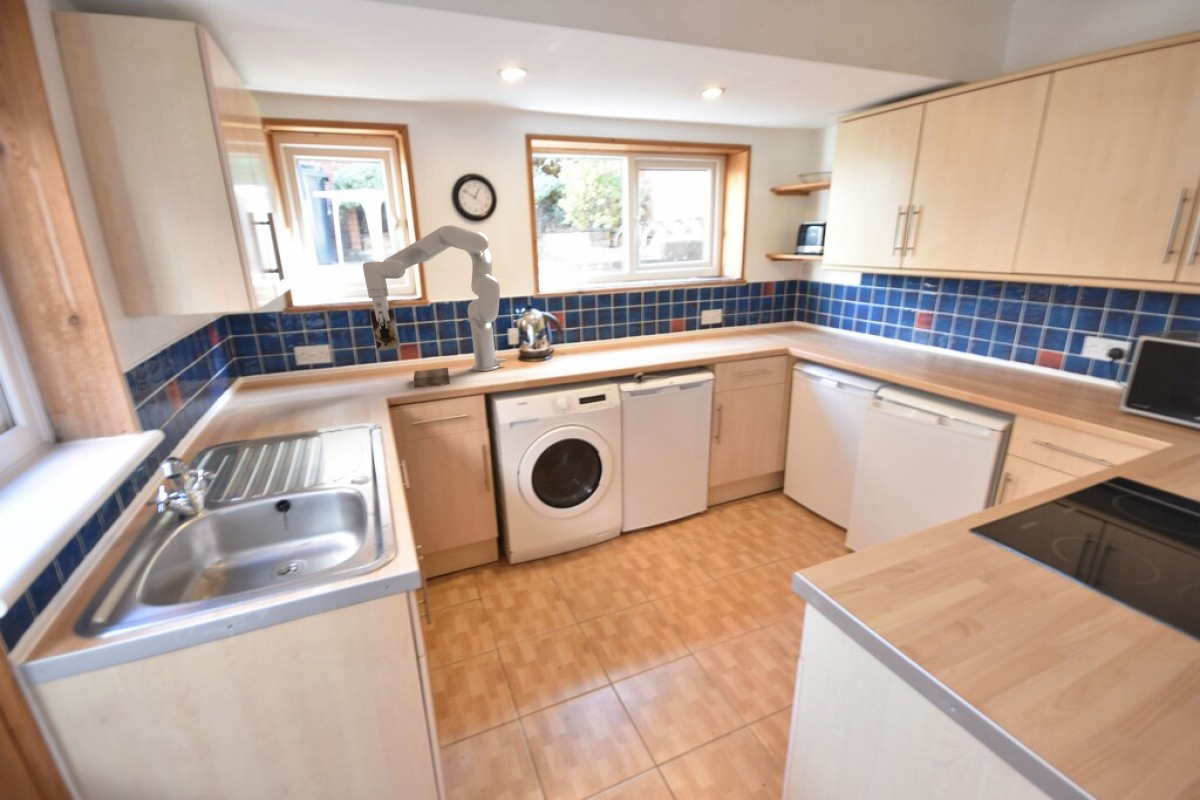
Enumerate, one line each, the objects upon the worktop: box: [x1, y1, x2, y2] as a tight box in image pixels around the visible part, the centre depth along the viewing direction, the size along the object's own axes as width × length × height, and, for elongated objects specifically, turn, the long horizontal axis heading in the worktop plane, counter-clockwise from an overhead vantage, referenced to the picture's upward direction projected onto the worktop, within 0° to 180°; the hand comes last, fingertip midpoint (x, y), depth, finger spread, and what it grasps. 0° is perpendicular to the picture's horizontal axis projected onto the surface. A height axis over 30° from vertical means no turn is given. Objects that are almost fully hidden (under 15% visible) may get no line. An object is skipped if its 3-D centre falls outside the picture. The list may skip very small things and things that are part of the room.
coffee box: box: [369, 307, 401, 352], centre depth 217 cm, size 9×6×16 cm
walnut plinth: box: [413, 367, 451, 389], centre depth 226 cm, size 14×13×4 cm
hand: (386, 336), depth 218 cm, fingers closed on coffee box, 6 cm apart
